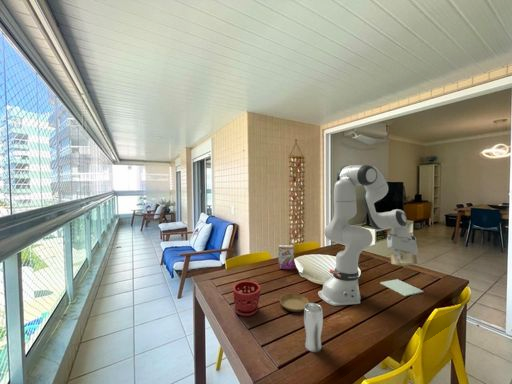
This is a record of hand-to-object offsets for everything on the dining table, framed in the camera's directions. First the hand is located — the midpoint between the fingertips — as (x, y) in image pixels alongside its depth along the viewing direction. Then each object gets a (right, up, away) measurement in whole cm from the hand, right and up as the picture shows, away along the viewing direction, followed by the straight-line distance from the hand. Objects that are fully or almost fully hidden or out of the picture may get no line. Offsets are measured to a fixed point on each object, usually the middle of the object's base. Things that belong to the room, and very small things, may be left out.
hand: (404, 259), depth 124 cm
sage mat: (0, -17, +3) cm, 17 cm away
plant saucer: (-66, -19, -15) cm, 70 cm away
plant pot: (-90, -19, -19) cm, 94 cm away
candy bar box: (-63, -17, +33) cm, 73 cm away
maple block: (-2, -2, +6) cm, 7 cm away
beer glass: (-64, -20, -42) cm, 79 cm away
